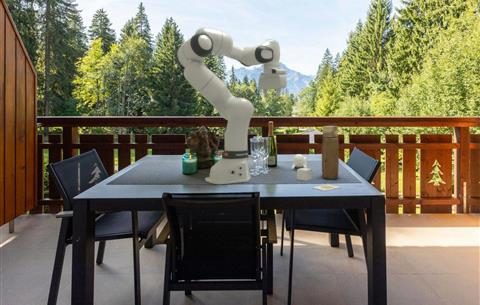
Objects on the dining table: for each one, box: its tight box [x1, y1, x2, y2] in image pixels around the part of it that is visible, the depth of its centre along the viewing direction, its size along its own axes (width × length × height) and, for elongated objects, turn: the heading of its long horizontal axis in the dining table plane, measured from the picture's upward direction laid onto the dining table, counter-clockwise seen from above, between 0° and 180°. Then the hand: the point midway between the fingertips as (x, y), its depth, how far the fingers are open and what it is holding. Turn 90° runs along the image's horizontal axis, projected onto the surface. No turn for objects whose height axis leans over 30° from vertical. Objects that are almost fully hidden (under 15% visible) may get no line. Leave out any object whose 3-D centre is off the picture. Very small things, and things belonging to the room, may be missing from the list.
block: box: [321, 137, 340, 180], centre depth 183 cm, size 11×8×20 cm
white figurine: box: [290, 153, 308, 170], centre depth 208 cm, size 9×8×15 cm
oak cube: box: [322, 125, 339, 138], centre depth 181 cm, size 5×5×5 cm
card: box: [312, 183, 342, 192], centre depth 162 cm, size 10×7×1 cm
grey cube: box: [296, 167, 313, 182], centre depth 180 cm, size 5×5×5 cm
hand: (271, 97), depth 203 cm, fingers open, 8 cm apart
